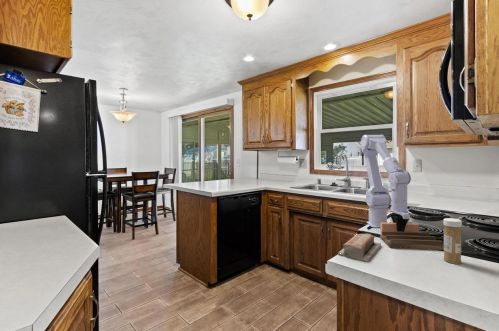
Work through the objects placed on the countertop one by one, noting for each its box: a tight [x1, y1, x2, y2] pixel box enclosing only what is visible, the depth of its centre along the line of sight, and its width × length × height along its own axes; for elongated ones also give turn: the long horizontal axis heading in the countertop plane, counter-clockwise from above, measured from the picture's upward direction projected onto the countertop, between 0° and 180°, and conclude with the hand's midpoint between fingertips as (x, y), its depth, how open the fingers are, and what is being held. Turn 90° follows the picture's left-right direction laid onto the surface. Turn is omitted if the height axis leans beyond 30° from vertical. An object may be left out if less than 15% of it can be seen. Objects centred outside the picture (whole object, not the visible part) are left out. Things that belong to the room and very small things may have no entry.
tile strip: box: [380, 221, 420, 235], centre depth 108 cm, size 2×14×5 cm, turn 80°
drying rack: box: [379, 231, 444, 251], centre depth 97 cm, size 11×18×3 cm, turn 80°
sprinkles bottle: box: [442, 217, 463, 265], centre depth 81 cm, size 5×5×13 cm
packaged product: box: [337, 233, 382, 262], centre depth 92 cm, size 18×5×10 cm
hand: (399, 231), depth 108 cm, fingers closed on tile strip, 2 cm apart
